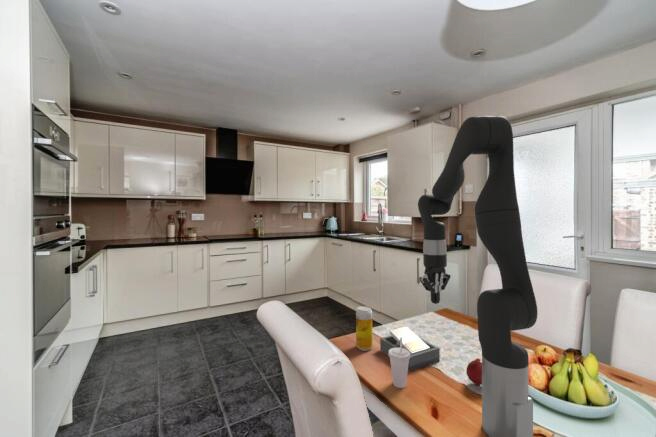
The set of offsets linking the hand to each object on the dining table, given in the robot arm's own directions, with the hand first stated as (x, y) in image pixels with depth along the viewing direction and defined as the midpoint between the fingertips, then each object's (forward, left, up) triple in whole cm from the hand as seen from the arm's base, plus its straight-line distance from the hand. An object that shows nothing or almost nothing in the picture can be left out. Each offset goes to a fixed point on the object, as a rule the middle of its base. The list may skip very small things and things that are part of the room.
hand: (435, 302), depth 100 cm
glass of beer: (+19, +16, -20) cm, 32 cm away
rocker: (+7, +6, -15) cm, 18 cm away
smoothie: (-5, +20, -20) cm, 29 cm away
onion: (-16, 0, -20) cm, 26 cm away
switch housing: (+7, +6, -20) cm, 22 cm away
